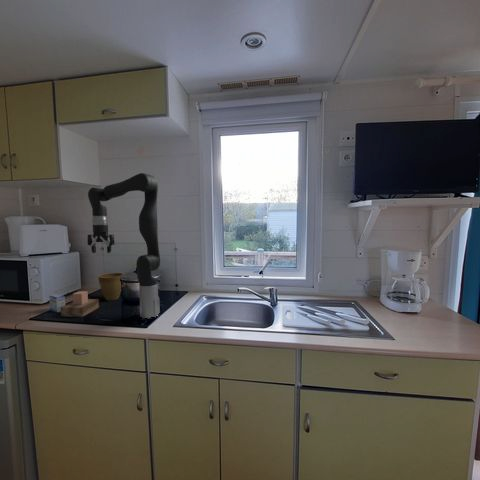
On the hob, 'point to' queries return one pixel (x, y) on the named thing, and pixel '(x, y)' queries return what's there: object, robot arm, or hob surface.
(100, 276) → the plant pot
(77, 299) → the terracotta block
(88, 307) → the walnut plinth
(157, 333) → the hob surface
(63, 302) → the medicine box
